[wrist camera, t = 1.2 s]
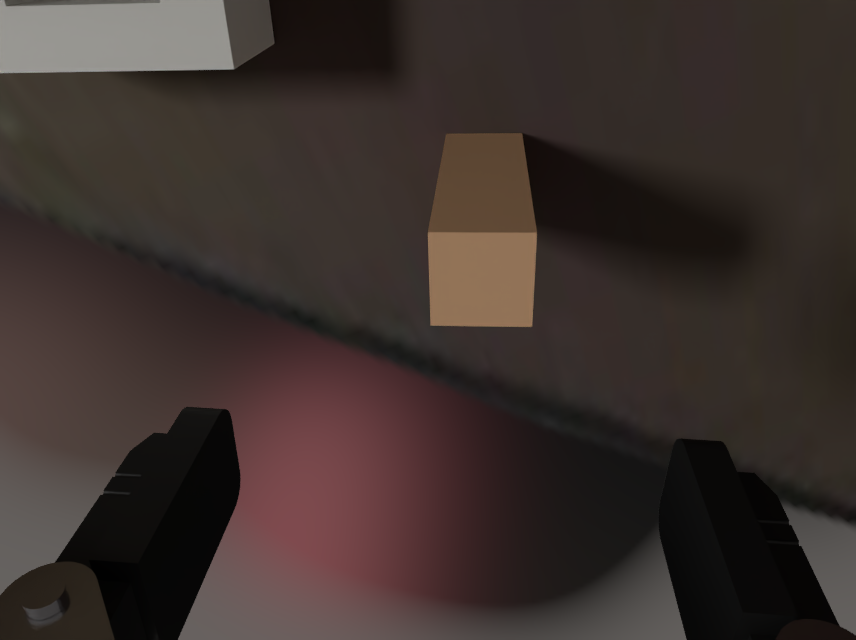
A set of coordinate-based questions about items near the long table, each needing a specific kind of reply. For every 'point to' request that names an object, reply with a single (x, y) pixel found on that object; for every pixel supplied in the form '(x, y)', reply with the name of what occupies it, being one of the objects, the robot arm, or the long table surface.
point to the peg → (482, 234)
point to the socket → (131, 34)
